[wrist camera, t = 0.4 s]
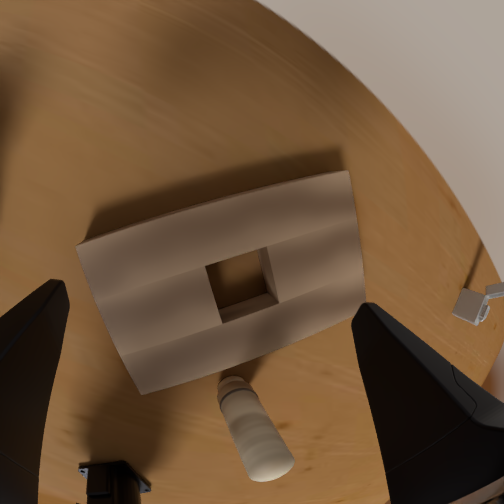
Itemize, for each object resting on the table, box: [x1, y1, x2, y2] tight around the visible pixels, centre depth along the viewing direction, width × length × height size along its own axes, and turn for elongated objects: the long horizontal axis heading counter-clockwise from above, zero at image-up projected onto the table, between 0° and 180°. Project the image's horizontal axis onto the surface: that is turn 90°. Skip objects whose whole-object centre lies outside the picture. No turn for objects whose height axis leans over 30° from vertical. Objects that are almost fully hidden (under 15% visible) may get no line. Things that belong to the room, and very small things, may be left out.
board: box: [75, 170, 366, 395], centre depth 21 cm, size 12×20×2 cm, turn 104°
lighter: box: [452, 282, 504, 326], centre depth 30 cm, size 7×2×8 cm, turn 153°
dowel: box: [217, 376, 295, 482], centre depth 20 cm, size 3×3×10 cm
